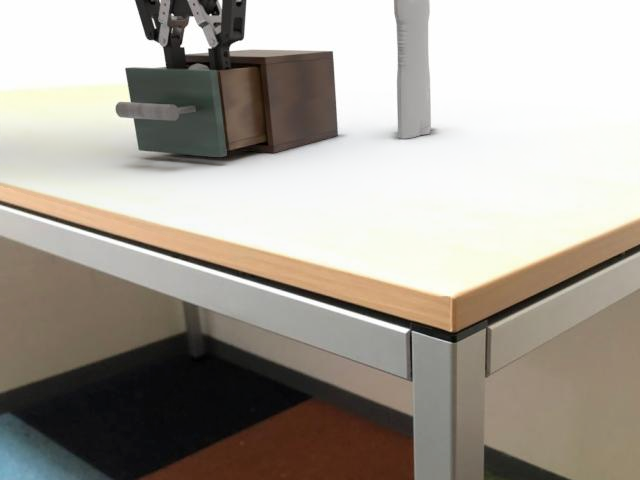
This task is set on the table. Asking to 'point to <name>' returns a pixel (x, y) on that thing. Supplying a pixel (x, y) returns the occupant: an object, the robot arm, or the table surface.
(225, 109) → the drawer
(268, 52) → the cabinet
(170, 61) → the robot arm
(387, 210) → the table surface
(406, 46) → the tall pale column
